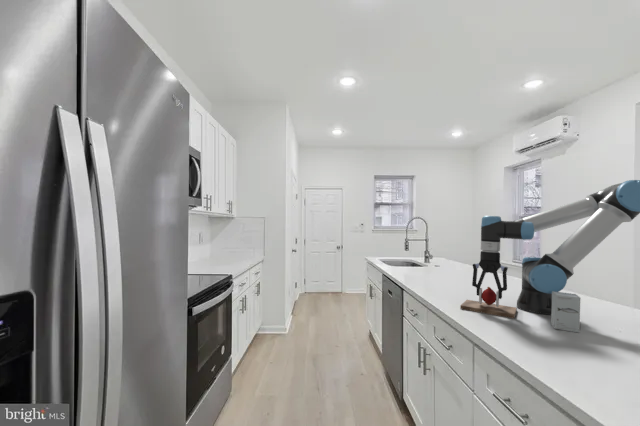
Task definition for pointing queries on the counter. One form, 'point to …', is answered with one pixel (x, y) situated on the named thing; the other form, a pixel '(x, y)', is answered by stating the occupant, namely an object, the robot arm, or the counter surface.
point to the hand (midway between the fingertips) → (488, 304)
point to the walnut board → (489, 308)
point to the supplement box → (565, 311)
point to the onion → (489, 296)
